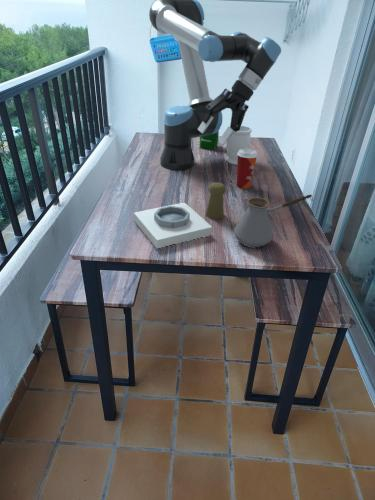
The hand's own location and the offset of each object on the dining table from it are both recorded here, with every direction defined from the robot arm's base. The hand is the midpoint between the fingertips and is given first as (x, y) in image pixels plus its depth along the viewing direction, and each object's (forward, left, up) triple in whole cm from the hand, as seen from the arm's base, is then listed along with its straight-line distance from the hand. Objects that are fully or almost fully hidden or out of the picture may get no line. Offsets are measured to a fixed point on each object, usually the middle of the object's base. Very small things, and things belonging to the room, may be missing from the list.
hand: (210, 137), depth 133 cm
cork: (+24, -12, -18) cm, 32 cm away
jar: (-16, +24, -18) cm, 34 cm away
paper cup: (+8, +11, -18) cm, 23 cm away
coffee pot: (+45, -5, -18) cm, 49 cm away
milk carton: (-39, +23, -18) cm, 49 cm away
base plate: (+26, -29, -18) cm, 43 cm away
